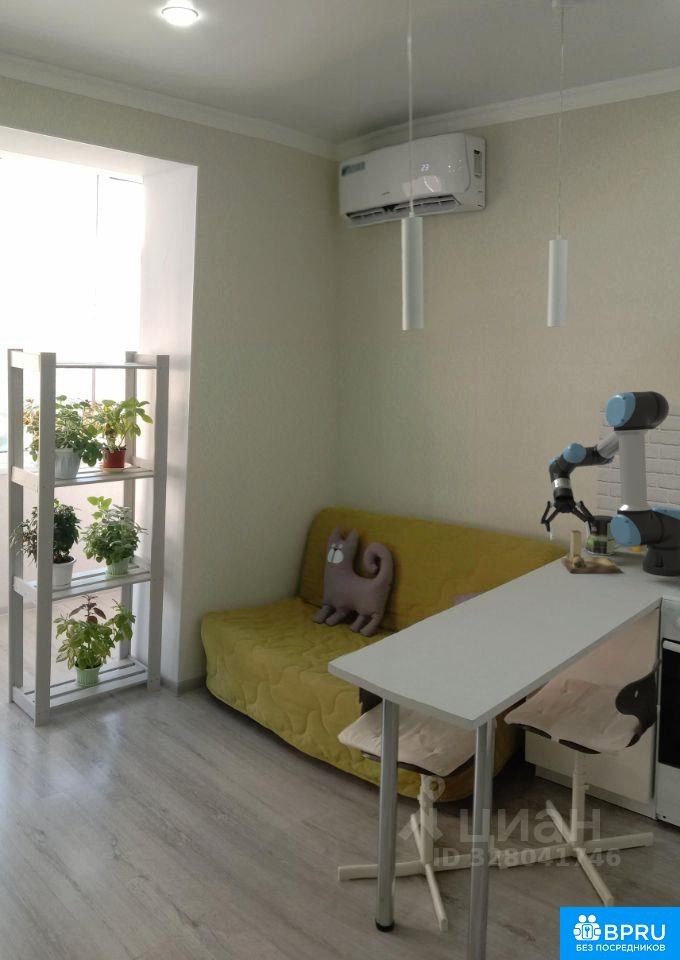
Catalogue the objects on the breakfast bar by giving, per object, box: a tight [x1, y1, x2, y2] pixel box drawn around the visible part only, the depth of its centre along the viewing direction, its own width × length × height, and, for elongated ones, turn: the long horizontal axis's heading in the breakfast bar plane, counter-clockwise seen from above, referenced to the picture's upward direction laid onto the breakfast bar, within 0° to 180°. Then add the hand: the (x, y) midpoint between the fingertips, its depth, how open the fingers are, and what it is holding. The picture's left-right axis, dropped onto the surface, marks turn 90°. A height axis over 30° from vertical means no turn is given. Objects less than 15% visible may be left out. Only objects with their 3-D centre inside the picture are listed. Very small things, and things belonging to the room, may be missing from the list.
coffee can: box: [587, 514, 616, 556], centre depth 323 cm, size 10×10×14 cm
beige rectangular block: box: [569, 529, 582, 565], centre depth 301 cm, size 4×5×12 cm
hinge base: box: [561, 550, 621, 574], centre depth 301 cm, size 18×16×5 cm
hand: (570, 538), depth 308 cm, fingers open, 13 cm apart
